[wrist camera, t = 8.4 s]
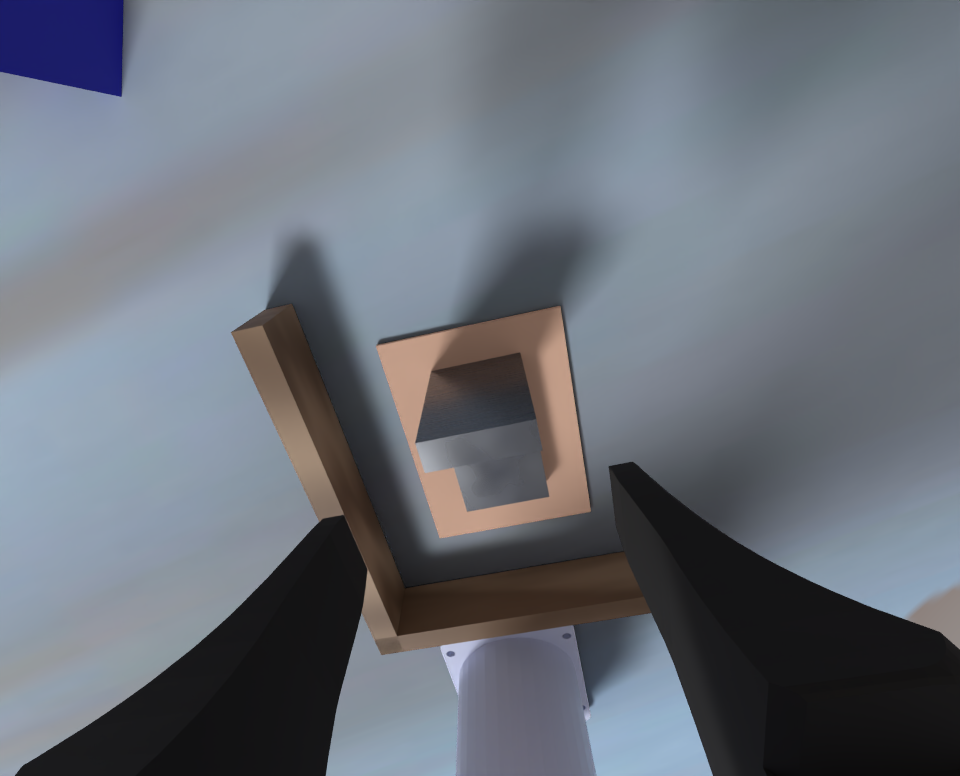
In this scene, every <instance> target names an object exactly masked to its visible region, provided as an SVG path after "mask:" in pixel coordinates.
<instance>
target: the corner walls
mask: <svg viewBox="0 0 960 776" xmlns="http://www.w3.org/2000/svg"><path fill="white" fill-rule="evenodd" d="M231 333H232V336H233V338H234V340H235V342H236V344H237V346H238V348H239V351H240V353H241V355H242V357H243V359H244V361H245V363H246V366H247V368H248V370H249V372H250V374H251V376H252V378H253V381H254V383H255V385H256V387H257V389H258V391H259V393H260V396H261V398H262V400H263V402H264V404H265V406H266V408H267V411H268V413H269V415H270V417H271V419H272V421H273V423H274V426H275V428H276V430H277V432H278V434H279V436H280V438H281V441H282V443H283V445H284V447H285V449H286V451H287V453H288V456H289V458H290V460H291V462H292V464H293V466H294V468H295V471H296V473H297V475H298V477H299V479H300V481H301V484H302V486H303V488H304V490H305V492H306V494H307V496H308V499H309V501H310V503H311V505H312V507H313V509H314V511H315V514H316V516H317V518H318V520H319V522H320V521H321V520H322V519H323V518H329V517H334V516H340V515H344V516H345V518H346V520H347V523H348V525H349V527H350V530H351V532H352V534H353V537H354V539H355V541H356V544H357V546H358V548H359V550H360V553H361V555H362V557H363V560H364V562H365V564H366V567H367V569H368V571H367V580H366V589H365V596H364V603H363V608H362V614H363V617H364V619H365V621H366V623H367V625H368V627H369V629H370V632H371V634H372V636H373V638H374V640H375V642H376V644H377V647H378V649H379V651H380V653H381V655H385V654H391V653H398V652H404V651H410V650H417V649H423V648H430V647H436V646H442V645H449V644H455V643H462V642H468V641H474V640H481V639H487V638H494V637H500V636H507V635H513V634H519V633H526V632H532V631H539V630H545V629H551V628H558V627H564V626H571V625H577V624H583V623H590V622H596V621H603V620H609V619H616V618H622V617H628V616H635V615H641V614H648V613H651V611H650V609H649V607H648V605H647V603H646V600H645V598H644V596H643V594H642V592H641V590H640V587H639V585H638V583H637V581H636V579H635V577H634V574H633V572H632V570H631V568H630V566H629V563H628V561H627V558H626V555H625V552H618V553H612V554H606V555H601V556H595V557H589V558H583V559H577V560H571V561H565V562H559V563H553V564H547V565H541V566H535V567H529V568H523V569H517V570H511V571H505V572H499V573H493V574H487V575H481V576H475V577H469V578H463V579H457V580H451V581H445V582H439V583H434V584H428V585H422V586H416V587H410V588H405V587H404V584H403V582H402V579H401V577H400V574H399V572H398V569H397V567H396V564H395V562H394V559H393V557H392V554H391V552H390V549H389V547H388V544H387V542H386V539H385V536H384V534H383V531H382V529H381V526H380V524H379V521H378V519H377V516H376V514H375V511H374V509H373V506H372V504H371V501H370V499H369V496H368V494H367V491H366V489H365V486H364V484H363V481H362V479H361V476H360V474H359V471H358V469H357V466H356V463H355V461H354V458H353V456H352V453H351V451H350V448H349V446H348V443H347V441H346V438H345V436H344V433H343V431H342V428H341V426H340V423H339V421H338V418H337V416H336V413H335V411H334V408H333V406H332V403H331V401H330V398H329V396H328V393H327V391H326V388H325V385H324V383H323V380H322V378H321V375H320V373H319V370H318V368H317V365H316V363H315V360H314V358H313V355H312V353H311V350H310V348H309V345H308V343H307V340H306V338H305V335H304V333H303V330H302V328H301V325H300V323H299V320H298V318H297V315H296V312H295V310H294V307H293V305H292V304H288V305H284V306H279V307H275V308H271V309H266V310H264V311H262V312H261V313H259V314H258V315H256V316H255V317H253V318H252V319H250V320H249V321H247V322H246V323H244V324H243V325H241V326H240V327H238V328H237V329H235V330H234V331H232V332H231Z"/></svg>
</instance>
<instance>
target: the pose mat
mask: <svg viewBox="0 0 960 776" xmlns="http://www.w3.org/2000/svg"><path fill="white" fill-rule="evenodd" d="M376 348H377V351H378V354H379V357H380V360H381V363H382V366H383V369H384V372H385V375H386V378H387V381H388V384H389V387H390V390H391V393H392V396H393V399H394V402H395V405H396V408H397V411H398V414H399V417H400V420H401V423H402V426H403V429H404V432H405V435H406V438H407V441H408V444H409V447H410V450H411V453H412V456H413V459H414V462H415V465H416V468H417V471H418V474H419V477H420V480H421V483H422V486H423V489H424V492H425V495H426V498H427V501H428V504H429V507H430V510H431V513H432V516H433V519H434V522H435V525H436V528H437V531H438V534H439V537H440V538H445V537H450V536H456V535H462V534H467V533H473V532H479V531H484V530H490V529H496V528H501V527H507V526H513V525H518V524H524V523H530V522H536V521H541V520H547V519H553V518H558V517H564V516H570V515H575V514H581V513H587V512H591V508H590V502H589V495H588V488H587V481H586V475H585V468H584V461H583V455H582V448H581V441H580V434H579V428H578V421H577V414H576V408H575V401H574V394H573V387H572V381H571V374H570V367H569V361H568V354H567V347H566V341H565V334H564V327H563V320H562V314H561V307H560V306H556V307H551V308H546V309H542V310H537V311H532V312H528V313H523V314H518V315H514V316H509V317H504V318H500V319H495V320H490V321H486V322H481V323H476V324H472V325H467V326H462V327H458V328H453V329H448V330H444V331H439V332H434V333H429V334H425V335H420V336H415V337H411V338H406V339H401V340H397V341H392V342H387V343H383V344H378V345H377V346H376ZM519 352H520V353H521V358H522V362H523V366H524V370H525V374H526V378H527V382H528V386H529V390H530V395H531V399H532V403H533V407H534V411H535V415H536V419H537V424H538V429H539V435H540V440H541V445H542V450H543V451H540V452H541V457H542V462H543V467H544V472H545V477H546V482H547V487H548V492H549V497H546V498H540V499H535V500H529V501H524V502H518V503H513V504H508V505H502V506H497V507H491V508H486V509H480V510H475V511H469V512H467V510H466V506H465V503H464V500H463V496H462V493H461V490H460V486H459V483H458V480H457V476H456V473H455V470H454V468H449V469H444V470H439V471H434V472H429V473H425V472H424V469H423V466H422V463H421V460H420V457H419V454H418V451H417V448H416V445H415V441H416V437H417V432H418V428H419V423H420V419H421V414H422V410H423V405H424V401H425V396H426V392H427V387H428V383H429V378H430V374H431V371H434V370H439V369H443V368H448V367H453V366H458V365H462V364H467V363H472V362H477V361H481V360H486V359H491V358H495V357H500V356H505V355H510V354H514V353H519Z"/></svg>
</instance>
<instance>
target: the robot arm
mask: <svg viewBox="0 0 960 776" xmlns="http://www.w3.org/2000/svg"><path fill="white" fill-rule="evenodd" d="M609 472H610V480H611V488H612V496H613V505H614V513H615V521H616V528H617V531H618V534H619V537H620V540H621V543H622V546H623V549H624V552H625V555H626V558H627V561H628V563H629V566H630V568H631V570H632V572H633V574H634V577H635V579H636V581H637V583H638V585H639V587H640V590H641V592H642V594H643V596H644V598H645V600H646V603H647V605H648V607H649V609H650V611H651V613H652V615H653V618H654V620H655V622H656V624H657V626H658V628H659V631H660V633H661V635H662V637H663V639H664V641H665V643H666V646H667V648H668V651H669V653H670V655H671V658H672V660H673V663H674V665H675V668H676V671H677V674H678V677H679V679H680V682H681V685H682V688H683V690H684V693H685V696H686V699H687V702H688V704H689V707H690V710H691V713H692V716H693V719H694V722H695V724H696V727H697V730H698V733H699V736H700V739H701V742H702V745H703V747H704V750H705V753H706V756H707V759H708V762H709V765H710V768H711V771H712V774H713V776H960V649H958V648H957V647H956V646H955V645H954V644H953V643H952V642H950V641H949V640H948V639H947V638H946V637H945V636H944V635H943V634H942V633H940V632H938V631H935V630H932V629H930V628H927V627H924V626H921V625H919V624H916V623H913V622H910V621H908V620H905V619H902V618H899V617H897V616H894V615H891V614H888V613H885V612H883V611H880V610H877V609H874V608H872V607H869V606H867V605H864V604H862V603H859V602H857V601H855V600H852V599H850V598H847V597H845V596H843V595H840V594H838V593H835V592H833V591H831V590H829V589H826V588H824V587H822V586H820V585H817V584H815V583H813V582H811V581H809V580H807V579H805V578H803V577H801V576H799V575H797V574H795V573H793V572H791V571H789V570H787V569H785V568H782V567H780V566H778V565H776V564H775V563H773V562H771V561H769V560H767V559H765V558H763V557H762V556H760V555H758V554H756V553H755V552H753V551H751V550H750V549H748V548H746V547H744V546H743V545H741V544H739V543H738V542H736V541H735V540H733V539H731V538H730V537H728V536H727V535H725V534H724V533H722V532H721V531H719V530H718V529H716V528H715V527H713V526H712V525H711V524H709V523H708V522H706V521H705V520H703V519H702V518H701V517H699V516H698V515H697V514H695V513H694V512H693V511H691V510H690V509H689V508H687V507H686V506H685V505H684V504H682V503H681V502H680V501H678V500H677V499H676V498H675V497H673V496H672V495H671V494H670V493H668V492H667V491H666V490H665V489H664V488H662V487H661V486H660V485H659V484H658V483H657V482H655V481H654V480H653V479H652V478H651V477H650V476H649V475H648V474H646V473H645V472H644V471H643V470H642V469H641V468H640V467H639V466H638V465H636V464H635V463H633V462H629V463H623V464H618V465H612V466H609ZM367 571H368V569H367V567H366V564H365V562H364V560H363V557H362V555H361V553H360V550H359V548H358V546H357V544H356V541H355V539H354V537H353V534H352V532H351V530H350V527H349V525H348V523H347V520H346V518H345V516H344V515H340V516H334V517H329V518H323V519H322V520H321V521H320V522H319V523H318V524H317V525H316V526H315V527H314V528H313V529H312V530H311V531H310V532H309V533H308V534H307V535H306V537H305V538H304V539H303V540H302V541H301V542H300V543H299V544H298V545H297V546H296V547H295V549H294V550H293V551H292V552H291V553H290V554H289V555H288V556H287V557H286V558H285V560H284V561H283V562H282V563H281V564H280V565H279V566H278V567H277V568H276V569H275V570H274V571H273V573H272V574H271V575H270V576H269V577H268V578H267V579H266V580H265V581H264V582H263V583H262V584H261V585H260V586H259V587H258V588H257V589H256V590H255V591H254V592H253V593H252V594H251V595H250V596H249V597H248V598H247V599H246V600H245V601H244V602H243V603H242V604H241V605H240V606H239V607H238V608H237V609H236V610H235V611H234V612H233V613H232V614H231V615H230V616H229V617H228V618H227V619H226V620H225V621H223V622H222V623H221V624H220V625H219V626H218V627H217V628H216V629H215V630H213V631H212V632H211V633H210V634H209V635H208V636H207V637H205V638H204V639H203V640H202V641H201V642H200V643H199V644H197V645H196V646H195V647H194V648H193V649H191V650H190V651H189V652H188V653H186V654H185V655H184V656H183V657H181V658H180V659H179V660H178V661H176V662H175V663H174V664H172V665H171V666H170V667H169V668H167V669H166V670H165V671H164V672H162V673H161V674H160V675H158V676H157V677H156V678H155V679H153V680H152V681H151V682H149V683H148V684H147V685H145V686H144V687H143V688H141V689H140V690H138V691H137V692H136V693H134V694H133V695H132V696H130V697H129V698H127V699H126V700H125V701H123V702H122V703H120V704H119V705H117V706H116V707H114V708H113V709H111V710H110V711H109V712H107V713H106V714H104V715H103V716H101V717H100V718H98V719H97V720H95V721H94V722H92V723H91V724H89V725H88V726H86V727H85V728H83V729H81V730H80V731H78V732H77V733H75V734H73V735H72V736H70V737H69V738H67V739H65V740H64V741H62V742H61V743H59V744H57V745H56V746H54V747H53V748H51V749H49V750H48V751H46V752H45V753H43V754H41V755H40V756H38V757H37V758H35V759H33V760H32V761H30V762H28V763H27V764H25V765H23V766H22V767H21V768H20V770H19V771H18V772H17V774H16V775H15V776H326V769H327V762H328V755H329V749H330V743H331V738H332V732H333V726H334V720H335V714H336V709H337V705H338V700H339V696H340V691H341V688H342V684H343V680H344V677H345V673H346V669H347V665H348V662H349V658H350V654H351V651H352V647H353V643H354V639H355V636H356V632H357V628H358V624H359V620H360V616H361V612H362V608H363V603H364V596H365V589H366V580H367ZM440 649H441V652H442V654H443V657H444V659H445V662H446V665H447V667H448V670H449V673H450V675H451V678H452V680H453V683H454V686H455V688H456V691H457V694H458V724H457V755H456V776H596V771H595V766H594V761H593V756H592V751H591V746H590V741H589V736H588V731H587V726H586V720H588V719H589V718H590V717H591V713H590V708H589V703H588V698H587V693H586V688H585V682H584V677H583V672H582V667H581V662H580V657H579V652H578V646H577V641H576V636H575V631H574V626H573V625H571V626H564V627H558V628H551V629H545V630H539V631H532V632H526V633H519V634H513V635H507V636H500V637H494V638H487V639H481V640H474V641H468V642H462V643H455V644H449V645H442V646H440Z"/></svg>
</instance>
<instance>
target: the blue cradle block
mask: <svg viewBox="0 0 960 776" xmlns="http://www.w3.org/2000/svg"><path fill="white" fill-rule="evenodd" d="M122 45H123V0H0V72H4V73H9V74H14V75H19V76H24V77H29V78H33V79H38V80H43V81H48V82H53V83H58V84H62V85H67V86H72V87H77V88H82V89H87V90H91V91H96V92H101V93H106V94H111V95H116V96H120V97H121V96H122Z"/></svg>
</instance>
